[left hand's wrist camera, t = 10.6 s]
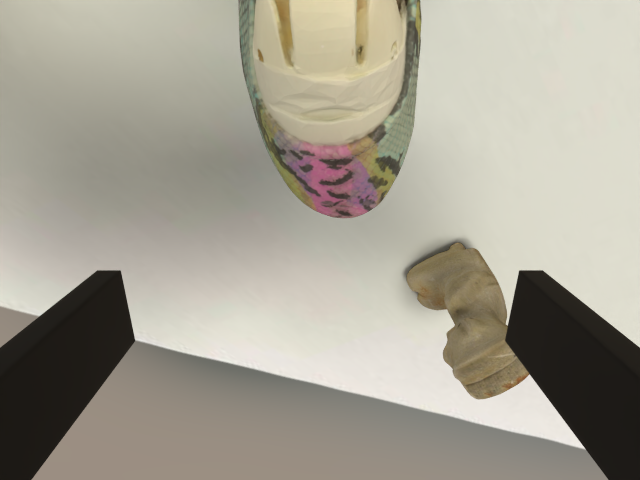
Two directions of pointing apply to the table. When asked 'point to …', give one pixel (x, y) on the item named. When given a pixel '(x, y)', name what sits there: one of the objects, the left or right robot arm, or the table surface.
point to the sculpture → (470, 319)
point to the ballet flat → (333, 94)
